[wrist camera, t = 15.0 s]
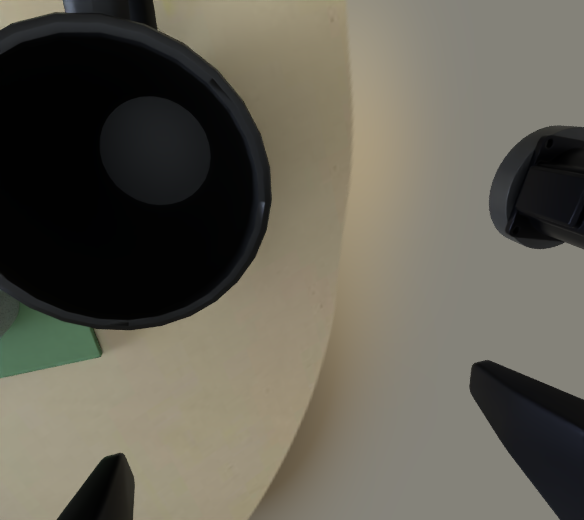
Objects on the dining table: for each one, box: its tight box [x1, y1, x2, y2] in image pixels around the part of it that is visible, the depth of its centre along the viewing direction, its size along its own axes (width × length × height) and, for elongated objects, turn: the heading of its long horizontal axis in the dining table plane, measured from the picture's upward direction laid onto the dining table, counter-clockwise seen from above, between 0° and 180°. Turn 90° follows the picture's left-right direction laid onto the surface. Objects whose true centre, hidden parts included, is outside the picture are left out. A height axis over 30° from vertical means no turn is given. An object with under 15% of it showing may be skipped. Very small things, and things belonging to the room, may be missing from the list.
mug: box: [0, 0, 272, 330], centre depth 13 cm, size 8×12×10 cm
